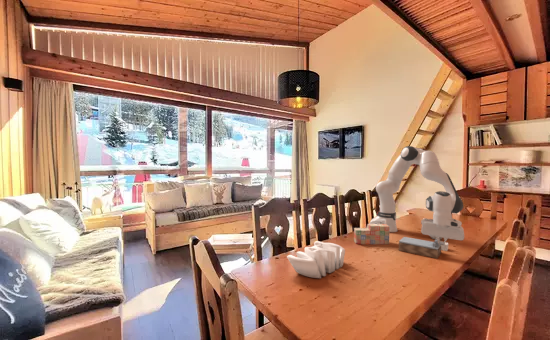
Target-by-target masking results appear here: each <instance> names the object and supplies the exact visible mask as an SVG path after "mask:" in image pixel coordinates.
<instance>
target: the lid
mask: <svg viewBox="0 0 550 340" xmlns="http://www.w3.org/2000/svg"><path fill="white" fill-rule="evenodd" d="M399 242H401V243H406V244H411V245H416V246H421V247H426V248H431V249H436V250H438V249H439V247H440V246H441V245H439V244H438V242H439V241H438V240H436V239H434V241H431V240H424V239H419V238H413V237H407V236H403V237H402V238H401V239H399V240H398V243H399Z"/></svg>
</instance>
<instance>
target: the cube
mask: <svg viewBox="0 0 550 340" xmlns="http://www.w3.org/2000/svg"><path fill="white" fill-rule="evenodd" d="M441 251H444V252H448V251H449V242H447V241H446V242H445V246H444V245H441Z"/></svg>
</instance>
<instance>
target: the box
mask: <svg viewBox="0 0 550 340" xmlns="http://www.w3.org/2000/svg"><path fill="white" fill-rule="evenodd" d="M398 251H399V252H404V253H408V254H413V255H417V256H422V257H426V258H431V259H432V258H433V259H436V260H437V259H439V257H440V256H441V254H442V250H441V246H440V247H439V249H438V250H436V249H431V248H426V247H421V246H416V245H411V244H406V243H401V242H399V241H398Z"/></svg>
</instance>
